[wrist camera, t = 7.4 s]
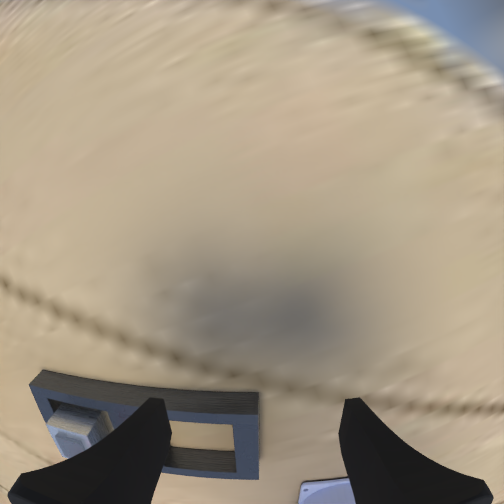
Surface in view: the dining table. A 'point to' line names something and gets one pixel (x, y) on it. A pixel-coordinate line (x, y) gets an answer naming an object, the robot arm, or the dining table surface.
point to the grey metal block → (78, 428)
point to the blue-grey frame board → (178, 409)
